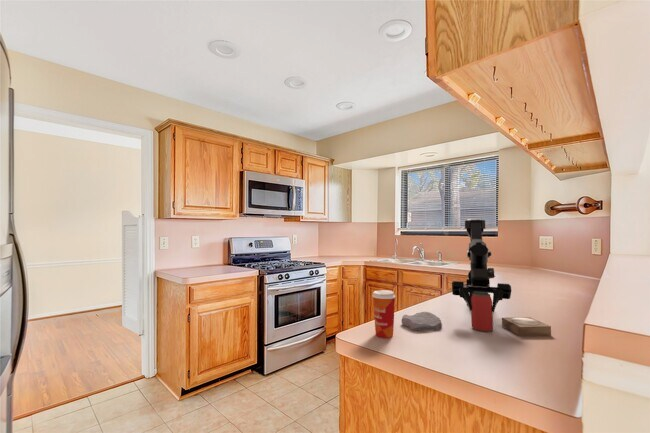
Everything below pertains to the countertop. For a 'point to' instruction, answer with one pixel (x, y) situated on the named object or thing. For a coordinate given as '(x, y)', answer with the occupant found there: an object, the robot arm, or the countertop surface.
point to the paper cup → (384, 313)
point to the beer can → (481, 312)
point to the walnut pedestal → (526, 326)
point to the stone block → (422, 321)
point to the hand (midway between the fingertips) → (481, 310)
